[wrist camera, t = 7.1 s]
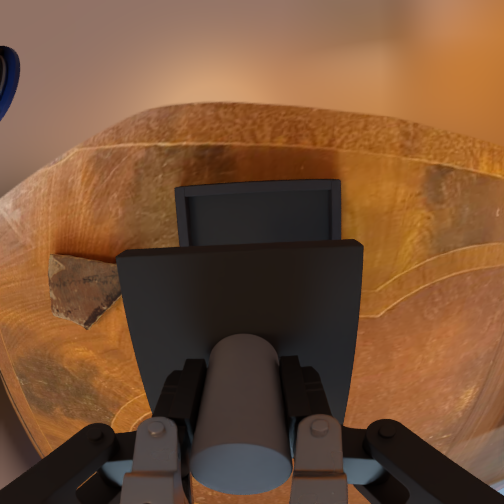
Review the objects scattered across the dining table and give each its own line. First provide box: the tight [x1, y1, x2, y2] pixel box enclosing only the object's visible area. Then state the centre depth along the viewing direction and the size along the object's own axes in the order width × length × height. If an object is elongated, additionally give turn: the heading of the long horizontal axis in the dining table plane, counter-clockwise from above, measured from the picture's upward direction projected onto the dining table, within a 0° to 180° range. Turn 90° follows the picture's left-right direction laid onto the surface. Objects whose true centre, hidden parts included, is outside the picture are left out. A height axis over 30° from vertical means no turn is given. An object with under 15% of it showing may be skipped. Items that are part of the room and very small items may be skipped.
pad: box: [116, 239, 364, 495], centre depth 11 cm, size 10×10×7 cm
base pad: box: [174, 179, 341, 247], centre depth 26 cm, size 13×13×2 cm
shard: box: [48, 254, 122, 330], centre depth 27 cm, size 11×8×2 cm
